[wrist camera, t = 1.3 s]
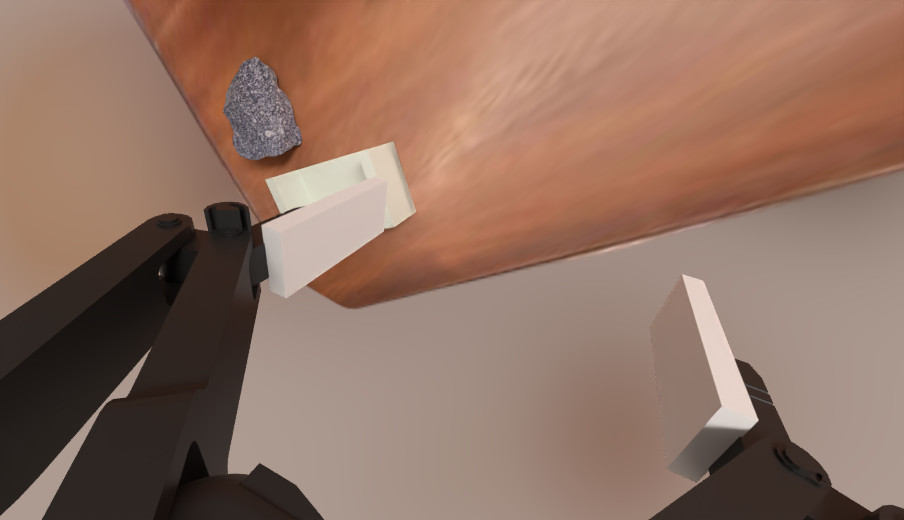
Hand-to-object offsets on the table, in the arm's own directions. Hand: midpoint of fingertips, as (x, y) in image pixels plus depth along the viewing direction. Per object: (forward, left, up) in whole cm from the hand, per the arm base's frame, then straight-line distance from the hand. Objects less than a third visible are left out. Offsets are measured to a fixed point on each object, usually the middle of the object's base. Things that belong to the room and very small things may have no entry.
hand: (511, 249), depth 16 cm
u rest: (-1, -28, -25) cm, 37 cm away
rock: (-14, -38, -25) cm, 47 cm away
